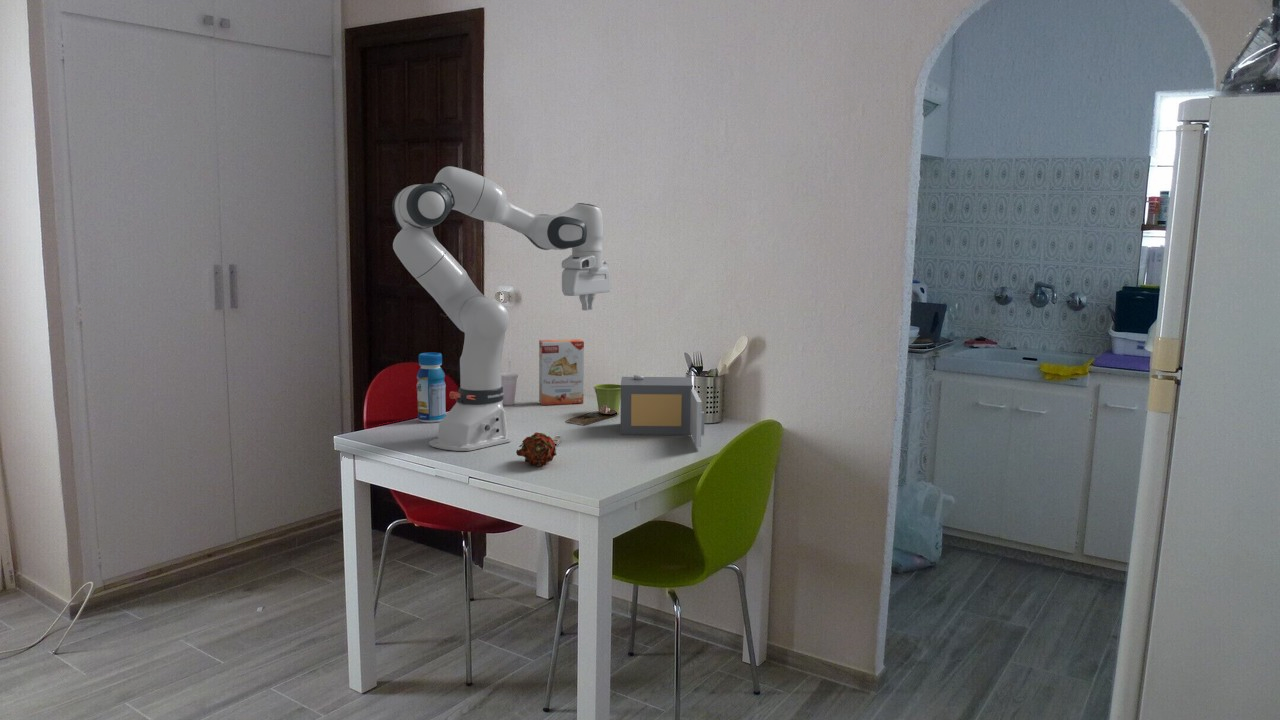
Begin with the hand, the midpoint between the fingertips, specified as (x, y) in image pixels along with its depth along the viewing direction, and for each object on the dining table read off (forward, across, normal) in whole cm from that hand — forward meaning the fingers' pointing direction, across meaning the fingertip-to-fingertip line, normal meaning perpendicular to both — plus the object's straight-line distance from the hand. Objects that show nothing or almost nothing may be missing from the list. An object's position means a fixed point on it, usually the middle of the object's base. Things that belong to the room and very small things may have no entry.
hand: (587, 310), depth 264 cm
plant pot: (+34, -18, -4) cm, 39 cm away
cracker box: (+34, -24, -26) cm, 49 cm away
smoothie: (+34, -14, -40) cm, 54 cm away
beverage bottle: (+34, +18, -44) cm, 58 cm away
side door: (+33, +1, +37) cm, 49 cm away
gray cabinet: (+34, -7, +19) cm, 39 cm away
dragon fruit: (+34, +42, +13) cm, 56 cm away
